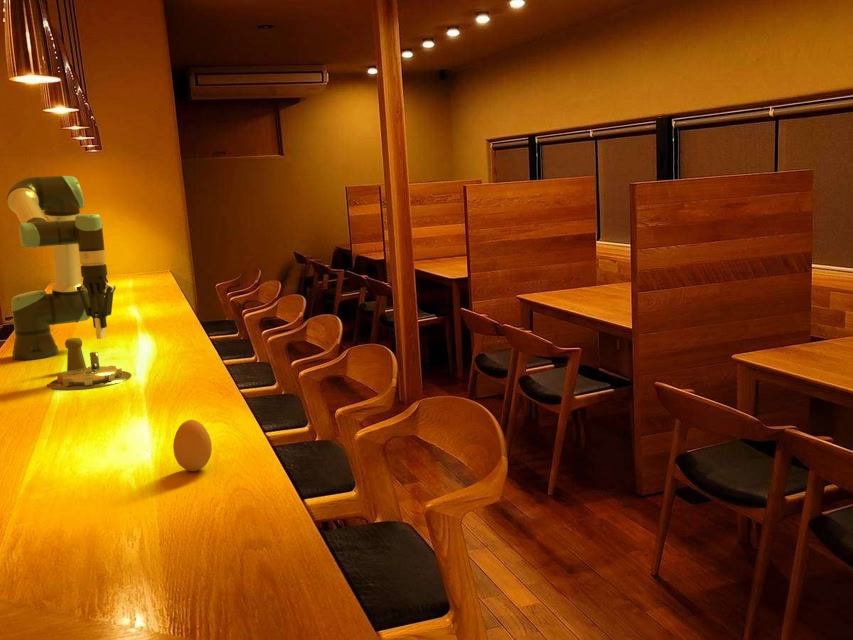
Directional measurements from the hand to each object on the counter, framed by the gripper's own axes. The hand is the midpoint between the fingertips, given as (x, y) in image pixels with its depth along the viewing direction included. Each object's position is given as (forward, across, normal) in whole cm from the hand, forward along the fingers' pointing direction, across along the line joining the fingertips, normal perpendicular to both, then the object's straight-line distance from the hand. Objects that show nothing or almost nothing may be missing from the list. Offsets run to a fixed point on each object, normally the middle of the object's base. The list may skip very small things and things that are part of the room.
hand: (101, 337), depth 253 cm
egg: (+11, +78, -73) cm, 107 cm away
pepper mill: (+13, -15, +5) cm, 20 cm away
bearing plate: (+12, -1, -6) cm, 14 cm away
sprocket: (+12, -1, -6) cm, 14 cm away
